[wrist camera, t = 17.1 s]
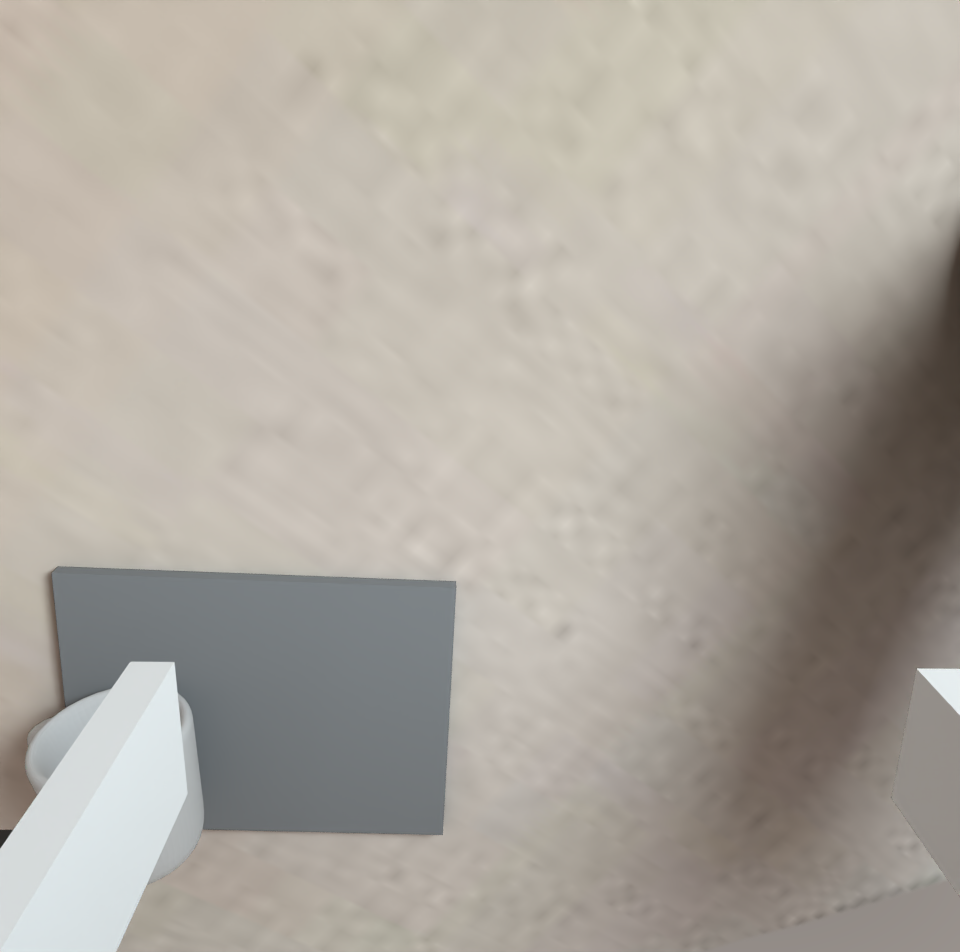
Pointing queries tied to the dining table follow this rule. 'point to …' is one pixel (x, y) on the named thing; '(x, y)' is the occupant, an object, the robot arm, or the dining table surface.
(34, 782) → the cup
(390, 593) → the mat
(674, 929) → the dining table surface
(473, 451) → the dining table surface
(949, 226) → the dining table surface
